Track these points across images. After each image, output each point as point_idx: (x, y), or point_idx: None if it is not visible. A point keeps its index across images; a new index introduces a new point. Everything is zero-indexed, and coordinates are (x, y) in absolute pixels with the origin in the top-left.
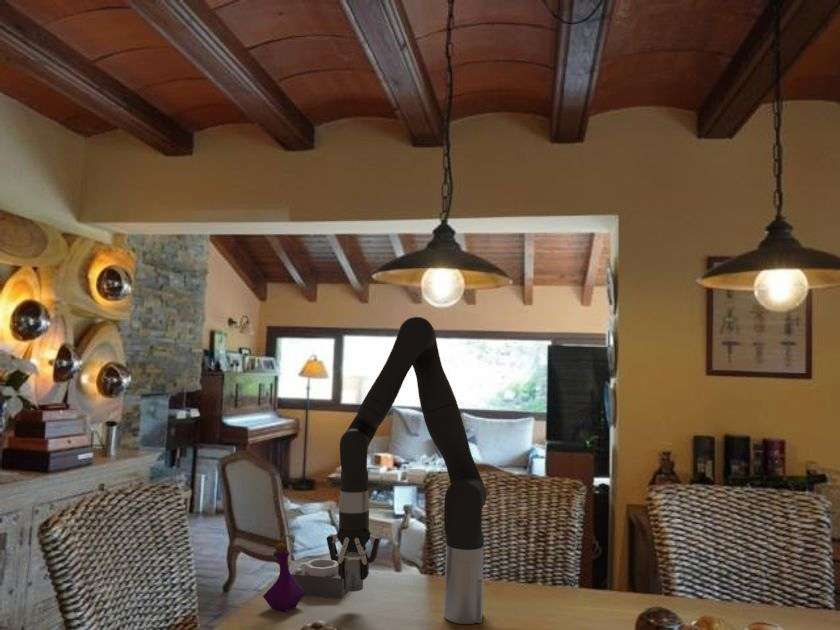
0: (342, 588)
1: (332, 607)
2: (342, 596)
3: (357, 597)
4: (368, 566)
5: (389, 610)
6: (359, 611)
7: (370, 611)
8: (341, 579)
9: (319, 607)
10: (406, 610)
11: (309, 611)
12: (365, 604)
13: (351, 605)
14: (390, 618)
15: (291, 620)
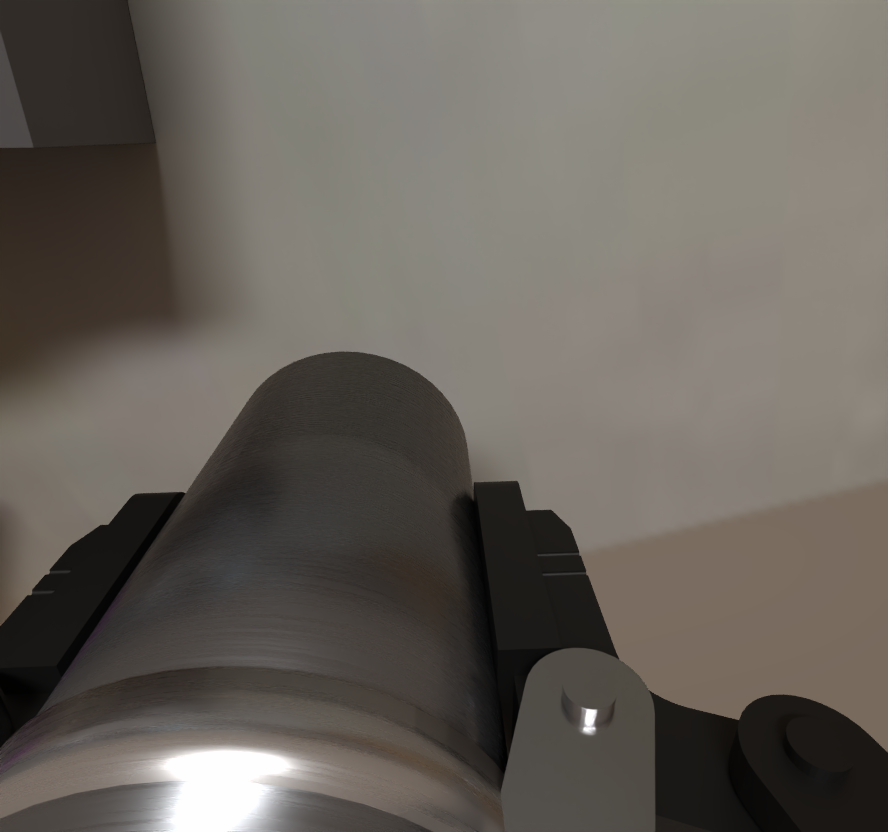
0: (102, 124)
1: (185, 384)
2: (143, 112)
3: (303, 45)
4: (601, 638)
5: (688, 317)
6: None
7: (529, 380)
8: (23, 146)
9: (80, 413)
10: (840, 277)
11: (57, 504)
12: (448, 235)
13: (327, 295)
14: (702, 463)
15: None
